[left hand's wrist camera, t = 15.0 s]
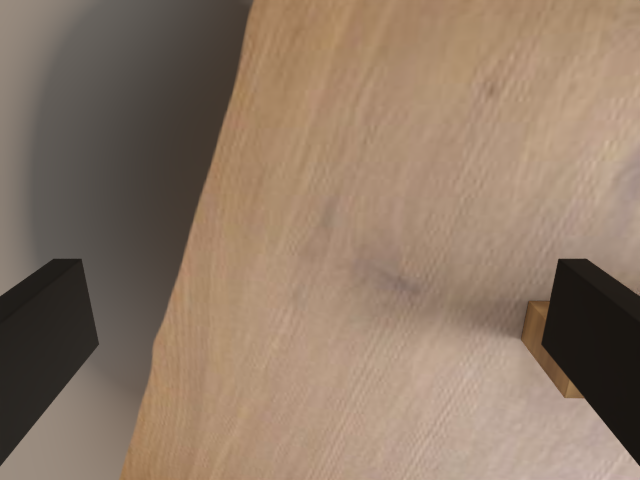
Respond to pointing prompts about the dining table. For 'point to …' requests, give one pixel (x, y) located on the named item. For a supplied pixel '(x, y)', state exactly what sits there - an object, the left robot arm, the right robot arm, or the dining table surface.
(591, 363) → the left robot arm
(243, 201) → the dining table surface
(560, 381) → the bar
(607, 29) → the dining table surface
